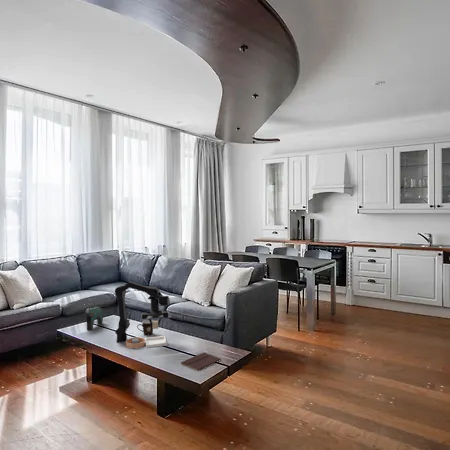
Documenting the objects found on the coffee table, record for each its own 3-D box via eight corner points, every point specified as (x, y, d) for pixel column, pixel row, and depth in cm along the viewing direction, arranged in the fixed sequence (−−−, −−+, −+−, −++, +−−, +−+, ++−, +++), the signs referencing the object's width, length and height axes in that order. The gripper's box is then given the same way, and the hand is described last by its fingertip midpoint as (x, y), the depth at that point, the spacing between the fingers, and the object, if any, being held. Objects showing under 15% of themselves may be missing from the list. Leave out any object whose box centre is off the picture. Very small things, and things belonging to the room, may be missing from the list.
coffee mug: (155, 332, 279) (155, 320, 279) (152, 336, 270) (151, 323, 270) (140, 332, 280) (140, 319, 280) (136, 336, 272) (136, 323, 271)
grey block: (132, 347, 248) (132, 341, 248) (132, 345, 253) (132, 338, 252) (138, 346, 249) (138, 340, 249) (138, 344, 254) (138, 338, 254)
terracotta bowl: (126, 349, 246) (126, 344, 245) (126, 343, 258) (126, 338, 258) (145, 347, 249) (145, 342, 249) (144, 341, 261) (144, 336, 261)
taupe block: (152, 329, 257) (152, 322, 257) (152, 327, 261) (152, 320, 261) (158, 328, 258) (158, 322, 258) (157, 326, 262) (157, 320, 262)
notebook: (220, 361, 227) (220, 358, 227) (198, 372, 213) (198, 368, 212) (203, 354, 237) (203, 351, 237) (181, 364, 222) (181, 361, 222)
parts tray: (146, 348, 248) (146, 345, 248) (145, 340, 262) (145, 337, 262) (167, 346, 252) (166, 343, 252) (164, 338, 266) (164, 335, 266)
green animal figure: (90, 331, 285) (90, 305, 284) (83, 330, 286) (82, 305, 285) (104, 323, 304) (104, 299, 303) (97, 322, 305) (97, 299, 305)
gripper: (141, 309, 249) (142, 331, 249) (169, 307, 254) (169, 329, 254) (141, 305, 260) (141, 326, 260) (167, 303, 264) (167, 324, 265)
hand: (155, 326), depth 260 cm, fingers closed on taupe block, 4 cm apart
